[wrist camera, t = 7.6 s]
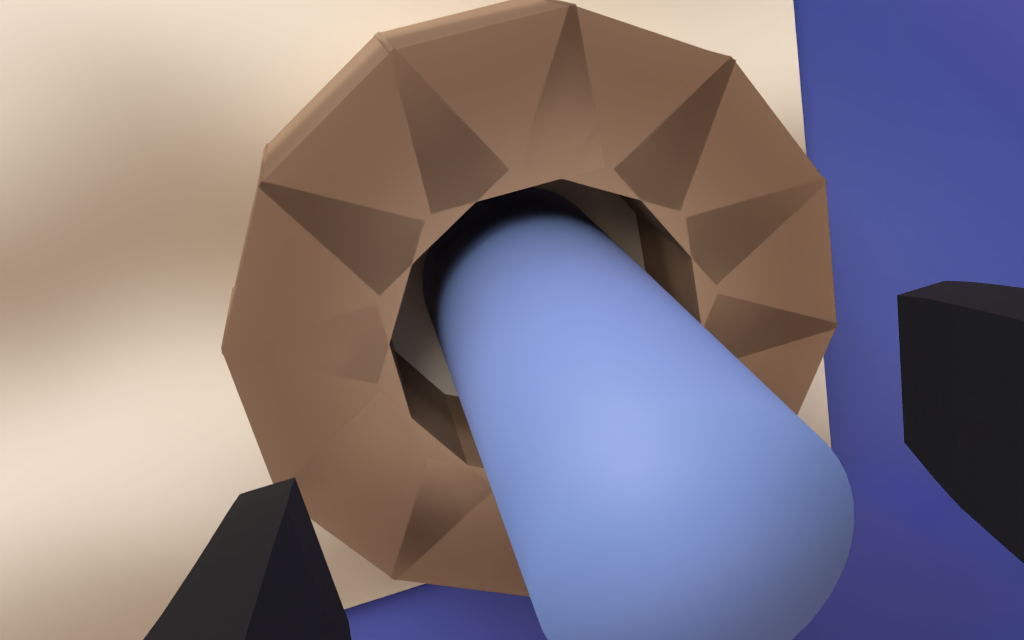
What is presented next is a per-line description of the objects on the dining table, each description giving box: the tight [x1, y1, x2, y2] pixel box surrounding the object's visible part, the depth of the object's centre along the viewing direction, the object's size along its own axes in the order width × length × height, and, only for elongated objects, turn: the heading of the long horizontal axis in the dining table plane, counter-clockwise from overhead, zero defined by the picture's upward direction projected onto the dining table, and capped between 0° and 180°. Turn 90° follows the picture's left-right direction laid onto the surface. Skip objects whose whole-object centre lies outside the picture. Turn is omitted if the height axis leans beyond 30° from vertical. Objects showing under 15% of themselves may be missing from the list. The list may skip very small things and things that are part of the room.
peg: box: [422, 187, 854, 640], centre depth 12 cm, size 3×3×8 cm
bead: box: [221, 0, 838, 597], centre depth 15 cm, size 9×9×2 cm
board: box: [0, 0, 831, 640], centre depth 15 cm, size 14×18×1 cm
